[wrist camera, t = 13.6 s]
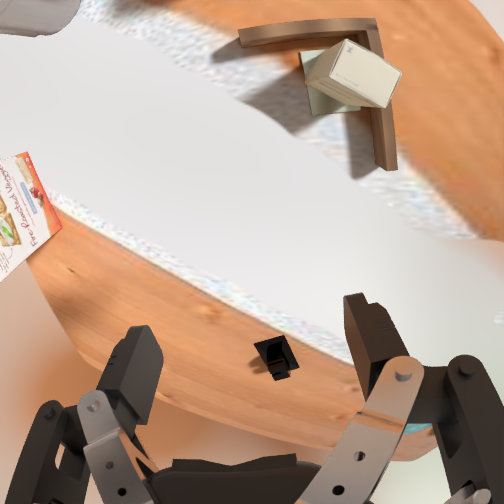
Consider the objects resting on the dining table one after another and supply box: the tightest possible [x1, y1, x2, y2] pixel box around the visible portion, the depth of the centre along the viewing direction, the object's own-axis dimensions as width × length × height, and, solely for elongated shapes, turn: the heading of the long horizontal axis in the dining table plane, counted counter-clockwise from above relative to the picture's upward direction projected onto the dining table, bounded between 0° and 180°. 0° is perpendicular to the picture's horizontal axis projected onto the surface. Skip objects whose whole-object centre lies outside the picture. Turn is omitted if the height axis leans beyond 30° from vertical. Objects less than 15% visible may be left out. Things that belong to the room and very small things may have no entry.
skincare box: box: [304, 39, 402, 108], centre depth 28 cm, size 6×4×12 cm
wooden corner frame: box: [238, 18, 398, 171], centre depth 33 cm, size 16×19×4 cm
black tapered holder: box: [254, 335, 299, 381], centre depth 53 cm, size 12×7×5 cm, turn 22°
